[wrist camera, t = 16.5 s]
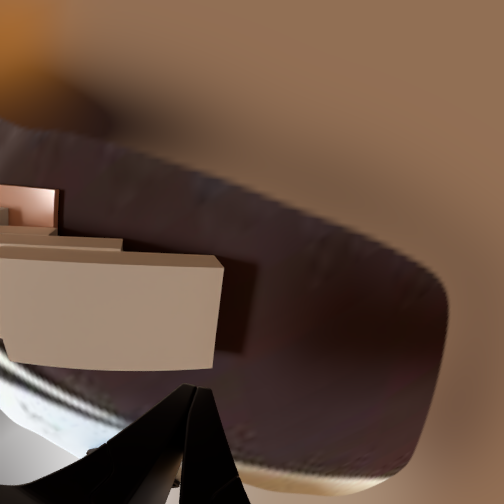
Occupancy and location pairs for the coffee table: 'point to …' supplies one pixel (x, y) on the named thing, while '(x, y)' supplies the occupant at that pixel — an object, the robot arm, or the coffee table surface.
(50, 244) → the domino
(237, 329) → the coffee table surface
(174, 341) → the domino
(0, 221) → the domino
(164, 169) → the coffee table surface
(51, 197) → the tile
